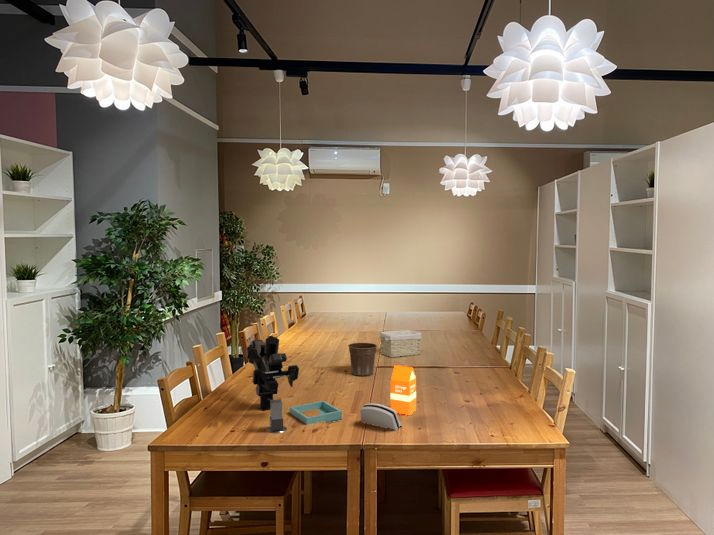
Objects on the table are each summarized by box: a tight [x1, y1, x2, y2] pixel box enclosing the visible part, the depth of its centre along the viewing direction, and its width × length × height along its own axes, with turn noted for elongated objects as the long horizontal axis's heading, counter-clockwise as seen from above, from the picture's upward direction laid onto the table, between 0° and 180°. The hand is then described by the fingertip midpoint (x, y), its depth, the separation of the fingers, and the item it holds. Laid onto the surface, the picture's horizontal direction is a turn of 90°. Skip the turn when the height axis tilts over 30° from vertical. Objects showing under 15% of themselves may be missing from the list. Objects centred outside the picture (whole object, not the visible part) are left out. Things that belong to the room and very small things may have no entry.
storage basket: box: [379, 329, 423, 358], centre depth 324 cm, size 24×16×15 cm
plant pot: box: [347, 342, 378, 377], centre depth 276 cm, size 16×16×16 cm
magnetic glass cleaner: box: [359, 402, 403, 431], centre depth 198 cm, size 17×5×10 cm, turn 56°
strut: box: [269, 398, 284, 432], centre depth 190 cm, size 5×5×11 cm
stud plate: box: [265, 425, 288, 434], centre depth 190 cm, size 8×8×5 cm
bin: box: [289, 400, 343, 426], centre depth 206 cm, size 16×16×4 cm
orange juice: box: [390, 364, 417, 416], centre depth 214 cm, size 8×9×20 cm
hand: (280, 387), depth 197 cm, fingers open, 9 cm apart
